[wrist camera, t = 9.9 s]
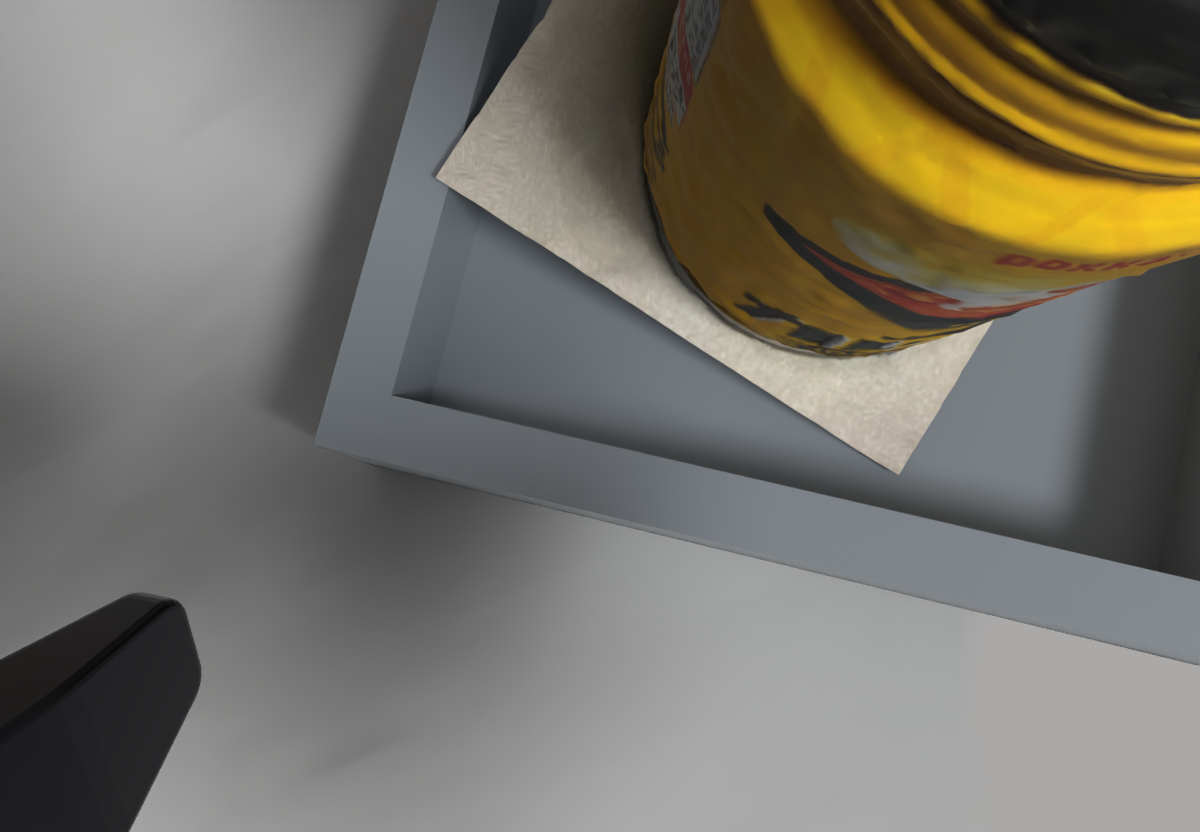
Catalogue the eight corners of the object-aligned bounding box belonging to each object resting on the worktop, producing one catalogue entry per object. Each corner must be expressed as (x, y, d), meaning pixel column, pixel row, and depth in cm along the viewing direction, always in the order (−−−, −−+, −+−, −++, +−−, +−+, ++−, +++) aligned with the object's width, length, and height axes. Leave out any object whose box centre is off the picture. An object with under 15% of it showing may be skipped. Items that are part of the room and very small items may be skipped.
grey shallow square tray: (1196, 665, 17) (1267, 675, 15) (371, 464, 20) (313, 444, 17) (1339, -142, 19) (1427, -257, 16) (562, -234, 21) (534, -346, 19)
